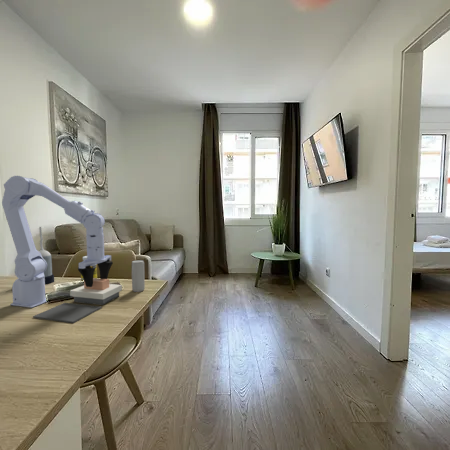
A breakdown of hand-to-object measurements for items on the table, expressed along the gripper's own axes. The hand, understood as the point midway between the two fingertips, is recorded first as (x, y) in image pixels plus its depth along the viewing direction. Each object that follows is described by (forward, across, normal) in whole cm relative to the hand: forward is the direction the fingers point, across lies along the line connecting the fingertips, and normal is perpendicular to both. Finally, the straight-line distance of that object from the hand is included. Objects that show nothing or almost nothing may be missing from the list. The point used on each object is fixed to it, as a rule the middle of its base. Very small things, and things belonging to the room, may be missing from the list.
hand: (96, 283), depth 99 cm
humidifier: (+6, +12, +38) cm, 40 cm away
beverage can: (+6, +13, -9) cm, 17 cm away
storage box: (+6, 0, 0) cm, 6 cm away
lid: (+4, 0, 0) cm, 4 cm away
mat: (+6, -13, 0) cm, 14 cm away
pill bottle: (+6, +18, +19) cm, 27 cm away
